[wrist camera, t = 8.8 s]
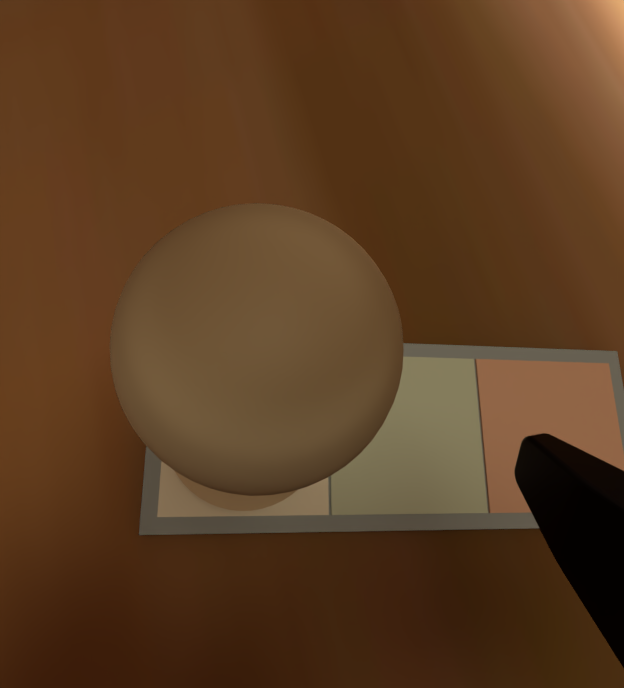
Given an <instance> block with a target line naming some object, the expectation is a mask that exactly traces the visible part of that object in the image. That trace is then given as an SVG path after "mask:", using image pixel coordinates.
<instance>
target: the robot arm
mask: <svg viewBox="0 0 624 688" xmlns="http://www.w3.org/2000/svg"><path fill="white" fill-rule="evenodd" d="M514 474H515V479H516V482H517V485H518V487H519V489H520V491H521V493H522V495H523V497H524V499H525V501H526V503H527V505H528V507H529V509H530V511H531V513H532V514H533V516H534V518H535V520H536V522H537V524H538V526H539V528H540V530H541V532H542V534H543V536H544V538H545V540H546V542H547V544H548V546H549V548H550V550H551V552H552V554H553V556H554V557H555V559H556V561H557V563H558V564H559V566H560V568H561V569H562V571H563V573H564V574H565V576H566V578H567V579H568V581H569V582H570V584H571V585H572V587H573V589H574V590H575V592H576V593H577V595H578V597H579V598H580V600H581V601H582V603H583V604H584V606H585V608H586V609H587V611H588V612H589V614H590V616H591V617H592V619H593V620H594V622H595V623H596V625H597V627H598V628H599V630H600V631H601V633H602V635H603V636H604V638H605V639H606V641H607V642H608V644H609V646H610V647H611V649H612V650H613V652H614V654H615V655H616V657H617V658H618V660H619V661H620V663H621V665H622V666H623V668H624V471H623V470H621V469H619V468H617V467H615V466H613V465H611V464H609V463H607V462H605V461H603V460H601V459H599V458H597V457H595V456H593V455H591V454H589V453H587V452H585V451H583V450H581V449H579V448H577V447H575V446H573V445H571V444H569V443H567V442H565V441H563V440H561V439H558V438H556V437H554V436H552V435H550V434H547V433H541V434H536V435H531V436H527V437H525V438H524V439H523V440H522V442H521V445H520V449H519V453H518V457H517V461H516V465H515V469H514Z"/></svg>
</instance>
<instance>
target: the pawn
mask: <svg viewBox="0 0 624 688" xmlns="http://www.w3.org/2000/svg"><path fill="white" fill-rule="evenodd" d="M403 352H404V347H403V333H402V325H401V320H400V315H399V310H398V308H397V305H396V302H395V299H394V296H393V293H392V291H391V289H390V287H389V285H388V283H387V281H386V279H385V278H384V276H383V274H382V273H381V271H380V270H379V268H378V267H377V265H376V264H375V262H374V261H373V260H372V259H371V257H370V256H369V255H368V254H367V253H366V251H365V250H364V249H363V248H362V247H361V246H360V245H359V244H358V243H357V242H356V241H354V240H353V239H352V238H351V237H350V236H349V235H347V234H346V233H345V232H343V231H342V230H341V229H339V228H338V227H336V226H335V225H333V224H331V223H329V222H327V221H326V220H324V219H322V218H320V217H317V216H315V215H313V214H310V213H308V212H305V211H302V210H298V209H295V208H292V207H287V206H281V205H275V204H260V203H253V204H238V205H233V206H227V207H222V208H219V209H215V210H212V211H209V212H206V213H203V214H201V215H199V216H197V217H194V218H192V219H190V220H188V221H187V222H185V223H183V224H182V225H180V226H178V227H177V228H175V229H173V230H172V231H171V232H169V233H168V234H167V235H165V236H164V237H163V238H162V239H160V240H159V241H158V242H157V243H156V244H155V245H154V246H153V247H152V248H151V249H150V250H149V251H148V252H147V253H146V254H145V255H144V256H143V258H142V259H141V260H140V262H139V263H138V264H137V266H136V267H135V269H134V270H133V272H132V273H131V275H130V277H129V279H128V281H127V283H126V284H125V286H124V288H123V291H122V293H121V296H120V298H119V301H118V304H117V306H116V309H115V313H114V318H113V322H112V326H111V337H110V361H111V371H112V376H113V381H114V386H115V391H116V393H117V396H118V399H119V402H120V405H121V407H122V410H123V412H124V413H125V415H126V417H127V419H128V421H129V423H130V425H131V427H132V428H133V429H134V431H135V432H136V433H137V435H138V436H139V437H140V439H141V440H142V442H143V443H144V444H145V445H146V446H147V447H148V448H149V449H150V450H151V451H152V452H153V453H154V454H155V455H156V456H157V457H158V458H159V459H160V460H161V461H162V462H164V463H165V464H166V465H168V466H169V467H170V468H171V469H173V470H174V471H175V473H176V474H177V476H178V477H179V479H180V480H181V481H182V483H183V484H184V485H185V486H186V487H187V488H188V489H189V490H190V491H191V492H192V493H194V494H195V495H196V496H198V497H199V498H200V499H202V500H204V501H206V502H207V503H209V504H212V505H214V506H217V507H220V508H224V509H228V510H236V511H252V510H258V509H263V508H266V507H269V506H272V505H275V504H277V503H279V502H281V501H283V500H284V499H286V498H288V497H289V496H291V495H292V494H293V493H294V492H296V491H297V490H298V489H301V488H305V487H308V486H310V485H312V484H315V483H317V482H319V481H321V480H323V479H325V478H327V477H329V476H331V475H332V474H334V473H336V472H337V471H339V470H340V469H342V468H343V467H345V466H346V465H347V464H349V463H350V462H351V461H352V460H353V459H354V458H356V457H357V456H358V455H359V454H360V453H361V452H362V451H363V450H364V449H365V448H366V446H367V445H368V444H369V443H370V442H371V441H372V440H373V438H374V437H375V435H376V434H377V432H378V431H379V429H380V428H381V426H382V425H383V423H384V421H385V419H386V417H387V415H388V413H389V411H390V409H391V407H392V405H393V403H394V400H395V397H396V394H397V391H398V388H399V384H400V379H401V374H402V369H403Z"/></svg>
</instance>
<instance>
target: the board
mask: <svg viewBox="0 0 624 688" xmlns="http://www.w3.org/2000/svg"><path fill="white" fill-rule="evenodd" d="M403 347H404V352H403V369H402V374H401V379H400V384H399V388H398V391H397V394H396V397H395V400H394V403H393V405H392V407H391V409H390V411H389V413H388V415H387V417H386V419H385V421H384V423H383V425H382V426H381V428H380V429H379V431H378V432H377V434H376V435H375V437H374V438H373V440H372V441H371V442H370V443H369V444H368V445H367V446H366V448H365V449H364V450H363V451H362V452H361V453H360V454H359V455H358V456H357V457H356V458H354V459H353V460H352V461H351V462H350V463H349V464H347V465H346V466H345V467H343V468H342V469H340V470H339V471H337V472H336V473H334V474H332V475H331V476H329V477H327V478H325V479H323V480H321V481H319V482H317V483H315V484H312V485H310V486H308V487H305V488H301V489H298V490H297V491H296V492H294V493H293V494H292V495H291V496H289V497H288V498H286V499H284V500H283V501H281V502H279V503H277V504H275V505H272V506H269V507H266V508H263V509H258V510H252V511H236V510H228V509H224V508H220V507H217V506H214V505H212V504H209V503H207V502H206V501H204V500H202V499H200V498H199V497H198V496H196V495H195V494H194V493H192V492H191V491H190V490H189V489H188V488H187V487H186V486H185V485H184V484H183V483H182V481H181V480H180V479H179V477H178V476H177V474H176V473H175V471H174V470H173V469H171V468H170V467H169V466H168V465H166V464H165V463H164V462H162V461H161V460H160V459H159V458H158V457H157V456H156V455H155V454H154V453H153V452H152V451H151V450H150V449H149V448H148V447H147V446H146V455H145V467H144V479H143V491H142V503H141V515H140V527H139V535H172V534H230V533H289V532H347V531H406V530H464V529H523V528H539V526H538V524H537V522H536V520H535V518H534V516H533V514H532V513H531V511H530V509H529V507H528V505H527V503H526V501H525V499H524V497H523V495H522V493H521V491H520V489H519V487H518V485H517V482H516V479H515V474H514V469H515V465H516V461H517V457H518V453H519V449H520V445H521V442H522V440H523V439H524V438H525V437H527V436H531V435H536V434H541V433H547V434H550V435H552V436H554V437H556V438H558V439H561V440H563V441H565V442H567V443H569V444H571V445H573V446H575V447H577V448H579V449H581V450H583V451H585V452H587V453H589V454H591V455H593V456H595V457H597V458H599V459H601V460H603V461H605V462H607V463H609V464H611V465H613V466H615V467H617V468H619V469H621V470H623V471H624V389H623V383H622V377H621V371H620V365H619V359H618V353H617V351H596V350H569V349H542V348H515V347H488V346H461V345H434V344H407V343H403Z"/></svg>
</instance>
